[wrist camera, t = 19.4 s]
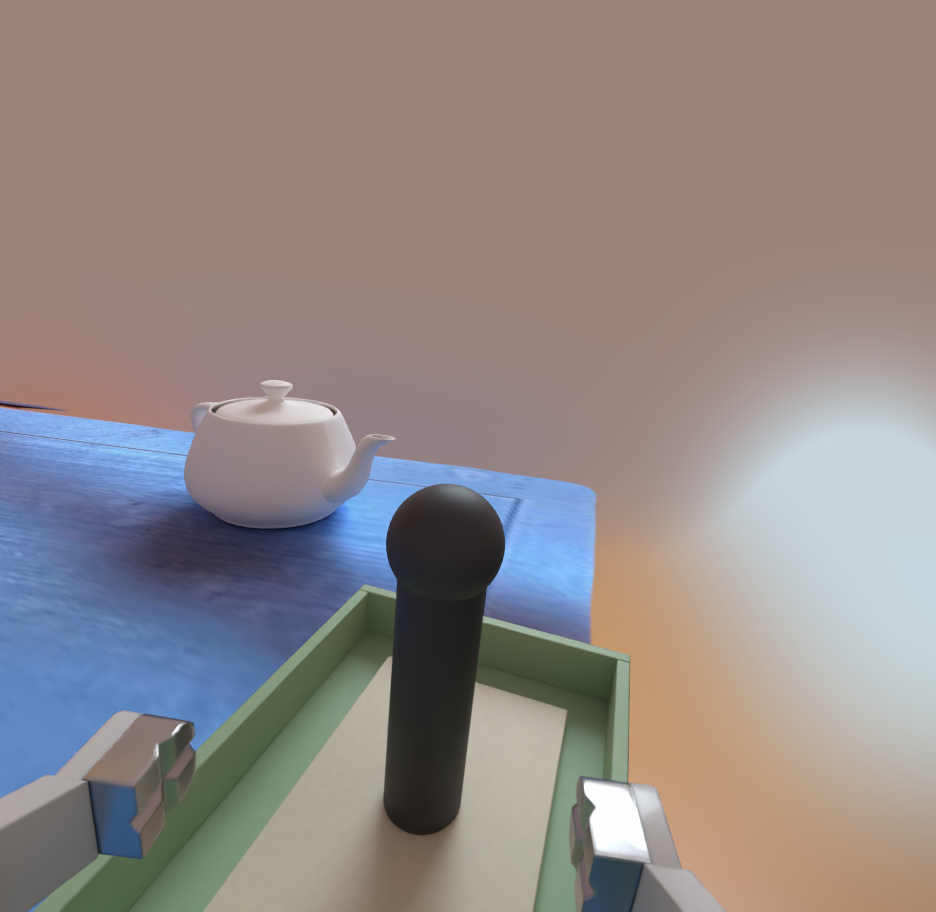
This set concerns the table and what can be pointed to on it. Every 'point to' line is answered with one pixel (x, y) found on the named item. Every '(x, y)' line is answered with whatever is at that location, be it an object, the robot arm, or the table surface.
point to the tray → (312, 723)
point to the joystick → (419, 754)
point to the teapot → (275, 459)
